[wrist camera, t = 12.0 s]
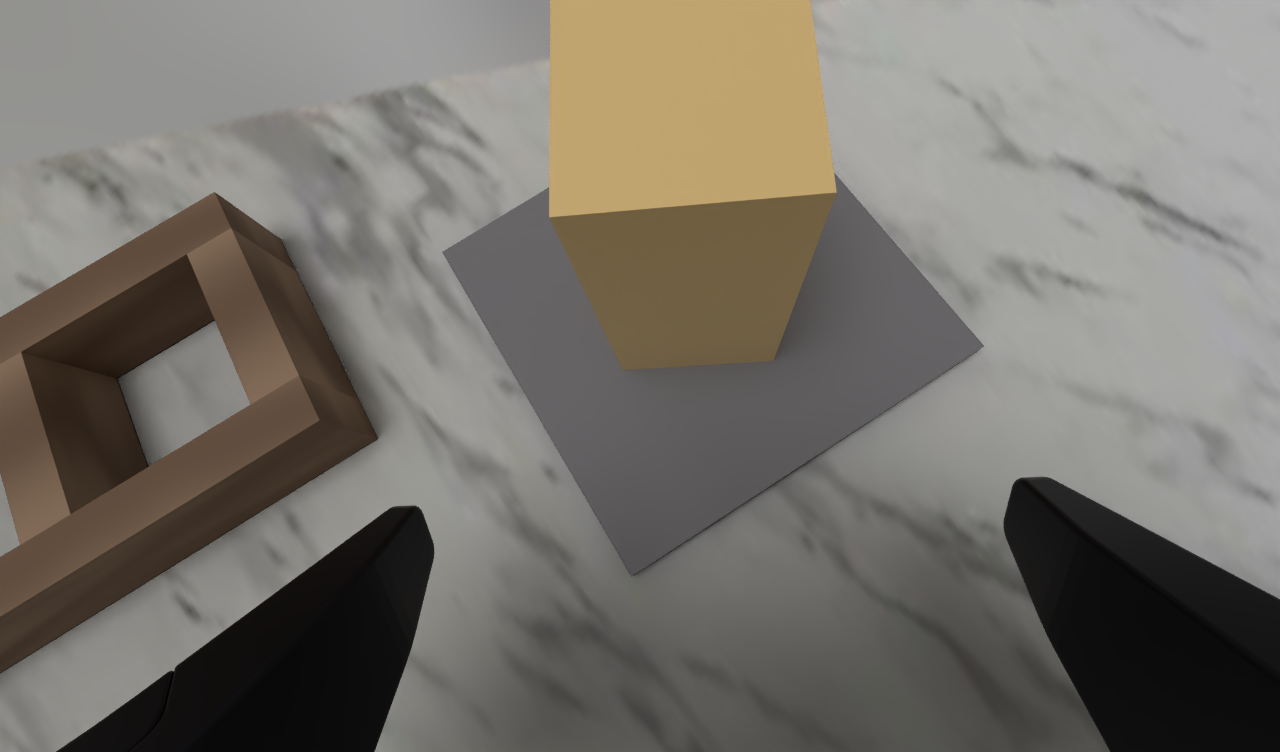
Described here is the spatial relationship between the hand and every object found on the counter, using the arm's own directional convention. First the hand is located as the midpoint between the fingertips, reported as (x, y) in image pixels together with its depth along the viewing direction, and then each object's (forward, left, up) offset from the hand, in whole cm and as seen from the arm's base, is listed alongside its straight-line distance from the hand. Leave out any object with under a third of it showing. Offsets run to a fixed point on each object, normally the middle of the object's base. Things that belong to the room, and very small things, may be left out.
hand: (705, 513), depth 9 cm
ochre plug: (+6, -4, -8) cm, 11 cm away
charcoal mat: (+6, -4, -8) cm, 11 cm away
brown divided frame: (+12, +16, -8) cm, 22 cm away
